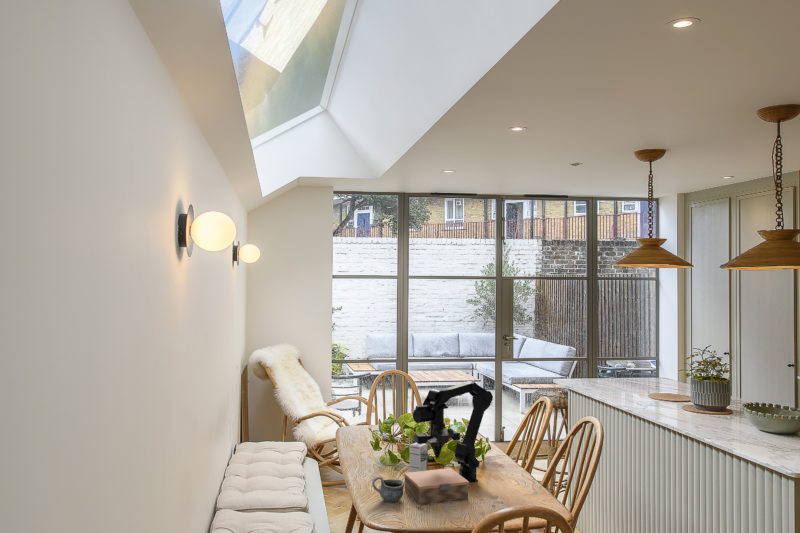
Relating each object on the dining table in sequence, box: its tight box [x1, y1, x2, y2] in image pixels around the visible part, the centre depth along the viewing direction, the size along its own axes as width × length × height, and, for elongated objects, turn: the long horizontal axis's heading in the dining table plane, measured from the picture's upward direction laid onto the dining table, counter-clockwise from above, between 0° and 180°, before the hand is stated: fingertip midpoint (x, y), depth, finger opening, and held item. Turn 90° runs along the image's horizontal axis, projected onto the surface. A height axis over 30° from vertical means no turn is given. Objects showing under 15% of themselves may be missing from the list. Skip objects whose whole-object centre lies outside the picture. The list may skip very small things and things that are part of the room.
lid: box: [404, 467, 470, 490], centre depth 244 cm, size 20×19×2 cm
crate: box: [404, 475, 469, 506], centre depth 244 cm, size 20×18×6 cm
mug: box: [371, 475, 405, 503], centre depth 237 cm, size 10×12×10 cm
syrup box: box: [408, 442, 429, 472], centre depth 266 cm, size 6×6×14 cm
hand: (437, 458), depth 254 cm, fingers closed
